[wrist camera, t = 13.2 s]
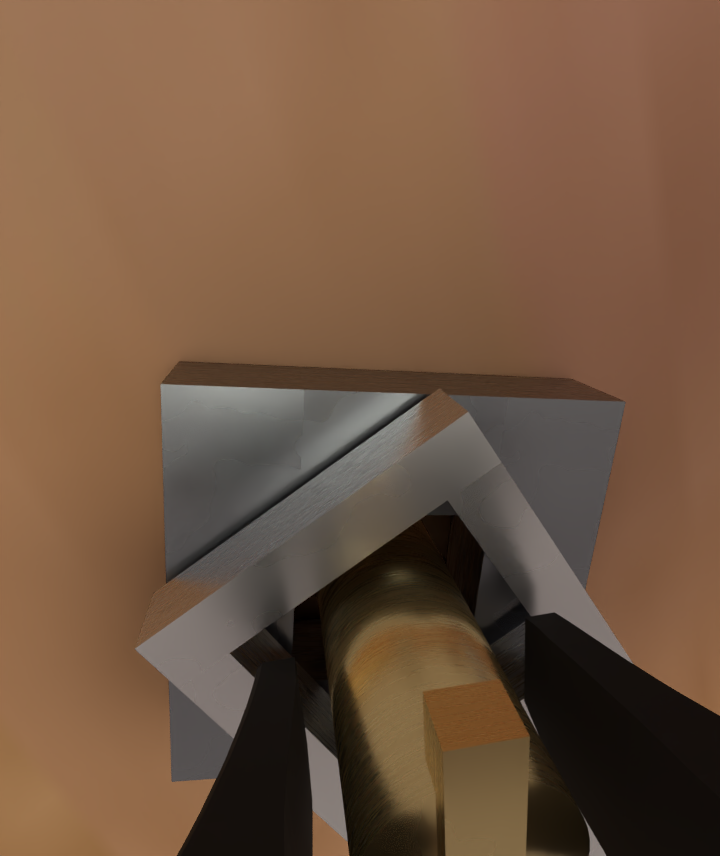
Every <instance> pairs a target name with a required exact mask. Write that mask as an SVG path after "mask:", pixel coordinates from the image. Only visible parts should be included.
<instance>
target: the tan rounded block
mask: <svg viewBox="0 0 720 856" xmlns="http://www.w3.org/2000/svg"><path fill="white" fill-rule="evenodd" d="M317 597H318V605H319V613H320V621H321V629H322V638H323V646H324V654H325V662H326V670H327V678H328V686H329V694H330V702H331V710H332V718H333V726H334V734H335V742H336V750H337V759H338V767H339V775H340V783H341V791H342V799H343V807H344V815H345V823H346V831H347V839H348V847H349V855H350V856H589V852H590V837H589V831H588V827H587V825H586V822H585V819H584V817H583V815H582V813H581V812H580V810H579V808H578V806H577V804H576V802H575V801H574V799H573V797H572V795H571V793H570V791H569V790H568V788H567V786H566V784H565V782H564V781H563V779H562V777H561V775H560V773H559V771H558V770H557V768H556V766H555V764H554V762H553V760H552V759H551V757H550V755H549V753H548V751H547V749H546V748H545V746H544V744H543V742H542V740H541V738H540V737H539V735H538V733H537V731H536V729H535V727H534V726H533V724H532V722H531V720H530V718H529V716H528V715H527V713H526V711H525V709H524V707H523V706H522V704H521V702H520V700H519V698H518V696H517V695H516V693H515V691H514V689H513V687H512V685H511V684H510V682H509V680H508V678H507V676H506V674H505V673H504V671H503V669H502V667H501V665H500V663H499V662H498V660H497V658H496V656H495V654H494V652H493V651H492V649H491V647H490V645H489V643H488V641H487V640H486V638H485V636H484V634H483V632H482V631H481V629H480V627H479V625H478V623H477V621H476V620H475V618H474V616H473V614H472V612H471V610H470V609H469V607H468V605H467V603H466V601H465V599H464V598H463V596H462V594H461V592H460V590H459V588H458V587H457V585H456V583H455V581H454V579H453V577H452V576H451V574H450V572H449V570H448V568H447V566H446V565H445V563H444V561H443V559H442V557H441V555H440V554H439V552H438V550H437V548H436V546H435V545H434V543H433V541H432V539H431V537H430V535H429V534H428V532H427V530H426V528H425V526H424V524H423V523H422V521H421V519H420V520H418V521H417V522H416V523H414V524H413V525H411V526H410V527H408V528H407V529H406V530H404V531H403V532H401V533H400V534H399V535H397V536H396V537H394V538H393V539H391V540H390V541H389V542H387V543H386V544H384V545H383V546H381V547H380V548H379V549H377V550H376V551H374V552H373V553H371V554H370V555H369V556H367V557H366V558H364V559H363V560H362V561H360V562H359V563H357V564H356V565H354V566H353V567H352V568H350V569H349V570H347V571H346V572H344V573H343V574H342V575H340V576H339V577H337V578H336V579H334V580H333V581H332V582H330V583H329V584H327V585H326V586H325V587H323V588H322V589H320V590H319V591H317Z"/></svg>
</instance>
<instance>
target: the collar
mask: <svg viewBox="0 0 720 856" xmlns="http://www.w3.org/2000/svg"><path fill="white" fill-rule="evenodd" d="M447 500H448V502H449V503H450V504H451V506H452V507H453V509H454V510H455V511H456V513H457V514H458V515H459V517H460V518H461V520H462V521H463V522H464V524H465V525H466V527H467V528H468V529H469V531H470V532H471V534H472V535H473V536H474V538H475V539H476V541H477V542H478V543H479V545H480V546H481V548H482V549H483V550H484V552H485V553H486V555H487V556H488V557H489V559H490V560H491V561H492V563H493V564H494V566H495V567H496V568H497V570H498V571H499V573H500V574H501V575H502V577H503V578H504V580H505V581H506V582H507V584H508V585H509V587H510V588H511V589H512V591H513V592H514V594H515V595H516V596H517V598H518V599H519V600H520V602H521V603H522V605H523V606H524V607H525V609H526V610H527V612H528V613H529V614H530V616H536V615H542V614H548V613H553V612H555V613H557V614H558V615H560V616H561V617H563V618H564V619H566V620H568V621H569V622H571V623H572V624H574V625H575V626H577V627H578V628H580V629H581V630H583V631H584V632H586V633H587V634H589V635H590V636H592V637H593V638H595V639H596V640H598V641H599V642H601V643H602V644H604V645H605V646H607V647H608V648H610V649H611V650H613V651H614V652H616V653H617V654H619V655H620V656H622V657H623V658H625V659H626V660H628V661H629V662H631V663H632V661H631V660H630V658H629V657H628V655H627V653H626V652H625V650H624V649H623V647H622V646H621V644H620V643H619V641H618V640H617V638H616V637H615V635H614V634H613V632H612V631H611V629H610V628H609V626H608V624H607V623H606V621H605V620H604V618H603V617H602V615H601V614H600V612H599V611H598V609H597V608H596V606H595V605H594V603H593V602H592V600H591V598H590V597H589V595H588V594H587V592H586V591H585V589H584V588H583V586H582V585H581V583H580V582H579V580H578V579H577V577H576V576H575V574H574V572H573V571H572V569H571V568H570V566H569V565H568V563H567V562H566V560H565V559H564V557H563V556H562V554H561V553H560V551H559V550H558V548H557V546H556V545H555V543H554V542H553V540H552V539H551V537H550V536H549V534H548V533H547V531H546V530H545V528H544V527H543V525H542V524H541V522H540V520H539V519H538V517H537V516H536V514H535V513H534V511H533V510H532V508H531V507H530V505H529V504H528V502H527V501H526V499H525V498H524V496H523V494H522V493H521V491H520V490H519V488H518V487H517V485H516V484H515V482H514V481H513V479H512V478H511V476H510V475H509V473H508V472H507V470H506V468H505V467H504V465H503V464H502V462H501V461H500V459H499V458H498V456H497V455H496V453H495V452H494V450H493V449H492V447H491V446H490V444H489V442H488V441H487V439H486V438H485V436H484V435H483V433H482V432H481V430H480V429H479V427H478V426H477V424H476V423H475V421H474V420H473V418H472V416H471V415H470V413H469V412H468V411H467V410H466V409H464V408H463V407H462V406H461V405H459V404H458V403H457V402H456V401H454V400H453V399H452V398H451V397H449V396H448V395H447V394H446V393H444V392H443V391H442V390H441V389H440V388H439V389H438V390H436V391H435V392H433V393H432V394H431V395H429V396H428V397H426V398H425V399H424V400H422V401H421V402H419V403H418V404H417V405H415V406H414V407H412V408H411V409H410V410H408V411H407V412H405V413H404V414H403V415H401V416H400V417H398V418H397V419H396V420H394V421H393V422H391V423H390V424H389V425H387V426H386V427H384V428H383V429H382V430H380V431H379V432H377V433H376V434H375V435H373V436H372V437H370V438H369V439H368V440H366V441H365V442H363V443H362V444H361V445H359V446H358V447H356V448H355V449H354V450H352V451H351V452H349V453H348V454H347V455H345V456H344V457H342V458H341V459H340V460H338V461H337V462H336V463H334V464H333V465H331V466H330V467H329V468H327V469H326V470H324V471H323V472H322V473H320V474H319V475H317V476H316V477H315V478H313V479H312V480H310V481H309V482H308V483H306V484H305V485H303V486H302V487H301V488H299V489H298V490H296V491H295V492H294V493H292V494H291V495H289V496H288V497H287V498H285V499H284V500H282V501H281V502H280V503H278V504H277V505H275V506H274V507H273V508H271V509H270V510H268V511H267V512H266V513H264V514H263V515H261V516H260V517H259V518H257V519H256V520H254V521H253V522H252V523H250V524H249V525H247V526H246V527H245V528H243V529H242V530H241V531H239V532H238V533H236V534H235V535H234V536H232V537H231V538H229V539H228V540H227V541H225V542H224V543H222V544H221V545H220V546H218V547H217V548H215V549H214V550H213V551H211V552H210V553H208V554H207V555H206V556H204V557H203V558H201V559H200V560H199V561H197V562H196V563H194V564H193V565H192V566H190V567H189V568H187V569H186V570H185V571H183V572H182V573H180V574H179V575H178V576H176V577H175V578H173V579H172V580H171V581H169V582H168V583H166V584H165V585H164V586H162V587H161V588H159V589H158V590H157V591H155V592H154V593H153V596H152V599H151V602H150V605H149V608H148V611H147V614H146V617H145V620H144V623H143V626H142V629H141V632H140V635H139V637H138V640H137V643H136V646H135V650H136V651H137V652H139V653H140V654H141V655H142V656H143V657H144V658H145V659H146V660H147V661H148V662H150V663H151V664H152V665H153V666H154V667H155V668H156V669H157V670H158V671H160V672H161V673H162V674H163V675H164V676H165V677H166V678H167V679H168V680H169V681H171V682H172V683H173V684H174V685H175V686H176V687H177V688H178V689H179V690H180V691H182V692H183V693H184V694H185V695H186V696H187V697H188V698H189V699H190V700H192V701H193V702H194V703H195V704H196V705H197V706H198V707H199V708H200V709H201V710H203V711H204V712H205V713H206V714H207V715H208V716H209V717H210V718H211V719H213V720H214V721H215V722H216V723H217V724H218V725H219V726H220V727H221V728H222V729H224V730H225V731H226V732H227V733H228V734H229V735H230V736H231V737H232V738H234V737H235V734H236V732H237V729H238V727H239V724H240V722H241V719H242V716H243V714H244V711H245V708H246V705H247V702H248V699H249V696H250V693H251V690H252V686H253V683H254V679H255V675H256V671H257V668H258V667H259V666H260V665H261V664H262V663H263V662H268V661H274V660H280V659H286V658H292V656H291V655H290V654H289V653H288V652H287V651H286V650H285V649H284V648H283V647H282V646H281V645H280V644H279V643H278V642H277V641H276V640H275V639H274V638H273V637H272V636H271V635H270V634H269V633H268V631H267V630H266V629H265V628H266V627H268V626H269V625H270V624H272V623H273V622H275V621H276V620H278V619H279V618H280V617H282V616H283V615H285V614H286V613H288V612H289V611H290V610H292V609H293V608H295V607H296V606H297V605H299V604H300V603H302V602H303V601H305V600H306V599H307V598H309V597H310V596H312V595H313V594H315V593H316V592H317V591H319V590H320V589H322V588H323V587H325V586H326V585H327V584H329V583H330V582H332V581H333V580H334V579H336V578H337V577H339V576H340V575H342V574H343V573H344V572H346V571H347V570H349V569H350V568H352V567H353V566H354V565H356V564H357V563H359V562H360V561H362V560H363V559H364V558H366V557H367V556H369V555H370V554H371V553H373V552H374V551H376V550H377V549H379V548H380V547H381V546H383V545H384V544H386V543H387V542H389V541H390V540H391V539H393V538H394V537H396V536H397V535H399V534H400V533H401V532H403V531H404V530H406V529H407V528H408V527H410V526H411V525H413V524H414V523H416V522H417V521H418V520H420V519H421V518H423V517H424V516H426V515H427V514H428V513H430V512H431V511H433V510H434V509H436V508H437V507H438V506H440V505H441V504H443V503H444V502H445V501H447ZM490 647H491V649H492V651H493V652H494V654H495V656H496V658H497V660H498V662H499V663H500V665H501V667H502V669H503V671H504V673H505V674H506V676H507V678H508V680H509V682H510V684H511V685H512V687H513V689H514V691H515V693H516V695H517V696H518V698H519V700H520V702H521V704H522V706H523V707H524V709H525V711H526V713H527V715H528V716H529V718H530V720H531V722H532V724H533V726H534V727H535V725H534V723H533V721H532V718H531V716H530V714H529V711H528V709H527V707H526V704H525V702H524V676H525V622H523V623H522V624H520V625H519V626H517V627H516V628H514V629H513V630H511V631H510V632H508V633H507V634H506V635H504V636H503V637H501V638H500V639H498V640H497V641H495V642H494V643H492V644H491V645H490ZM632 664H633V663H632ZM296 667H297V674H298V682H299V689H300V696H301V703H302V710H303V717H304V724H305V731H306V738H307V746H308V757H309V768H310V779H311V791H312V810H313V811H314V812H315V813H316V814H317V815H319V816H320V817H321V818H322V819H323V820H324V821H325V822H326V823H327V824H328V825H330V826H331V827H332V828H333V829H334V830H335V831H336V832H337V833H338V834H340V835H341V836H342V837H343V838H344V839H345V840H346V841H347V842H348V839H347V831H346V823H345V815H344V807H343V799H342V791H341V783H340V775H339V767H338V759H337V750H336V742H335V734H334V726H333V718H332V710H331V702H330V696H329V695H328V694H327V693H326V692H325V690H324V689H323V688H322V687H321V686H320V685H319V684H318V683H317V682H316V681H315V680H314V679H313V678H312V677H311V676H310V675H309V674H308V673H307V672H306V671H305V670H304V669H303V668H302V667H301V666H300V665H299V664H298V663H297V661H296ZM535 729H536V728H535ZM536 731H537V730H536ZM537 733H538V732H537ZM538 735H539V734H538ZM580 812H581V811H580ZM584 819H585V818H584ZM585 822H586V820H585ZM586 825H587V827H588V831H589V837H590V852H589V856H606V854H605V852H604V851H603V849H602V847H601V846H600V844H599V842H598V840H597V839H596V837H595V835H594V834H593V832H592V830H591V828H590V827H589V825H588V823H587V822H586Z"/></svg>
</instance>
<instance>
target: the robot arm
mask: <svg viewBox="0 0 720 856" xmlns="http://www.w3.org/2000/svg"><path fill="white" fill-rule="evenodd" d="M524 702H525V704H526V707H527V709H528V711H529V714H530V716H531V718H532V721H533V723H534V725H535V728H536V730H537V732H538V734H539V737H540V738H541V740H542V742H543V744H544V746H545V748H546V749H547V751H548V753H549V755H550V757H551V759H552V760H553V762H554V764H555V766H556V768H557V770H558V771H559V773H560V775H561V777H562V779H563V781H564V782H565V784H566V786H567V788H568V790H569V791H570V793H571V795H572V797H573V799H574V801H575V802H576V804H577V806H578V808H579V810H580V811H581V813H582V815H583V817H584V818H585V820H586V822H587V823H588V825H589V827H590V828H591V830H592V832H593V834H594V835H595V837H596V839H597V840H598V842H599V844H600V846H601V847H602V849H603V851H604V852H605V854H606V856H720V716H719V715H717V714H715V713H714V712H712V711H710V710H708V709H707V708H705V707H703V706H701V705H700V704H698V703H696V702H694V701H693V700H691V699H689V698H688V697H686V696H684V695H682V694H681V693H679V692H677V691H676V690H674V689H672V688H671V687H669V686H667V685H666V684H664V683H662V682H661V681H659V680H658V679H656V678H654V677H653V676H651V675H650V674H648V673H646V672H645V671H643V670H642V669H640V668H639V667H637V666H635V665H634V664H632V663H631V662H629V661H628V660H626V659H625V658H623V657H622V656H620V655H619V654H617V653H616V652H614V651H613V650H611V649H610V648H608V647H607V646H605V645H604V644H602V643H601V642H599V641H598V640H596V639H595V638H593V637H592V636H590V635H589V634H587V633H586V632H584V631H583V630H581V629H580V628H578V627H577V626H575V625H574V624H572V623H571V622H569V621H568V620H566V619H564V618H563V617H561V616H560V615H558V614H557V613H555V612H553V613H548V614H542V615H536V616H530V617H525V676H524ZM177 856H312V791H311V779H310V768H309V757H308V746H307V738H306V731H305V724H304V717H303V710H302V703H301V696H300V689H299V682H298V674H297V667H296V660H295V657H292V658H286V659H280V660H274V661H268V662H263V663H262V664H261V665H260V666H259V667H258V668H257V671H256V675H255V679H254V683H253V686H252V690H251V693H250V696H249V699H248V702H247V705H246V708H245V711H244V714H243V716H242V719H241V722H240V724H239V727H238V729H237V732H236V734H235V737H234V739H233V742H232V744H231V746H230V749H229V751H228V754H227V756H226V759H225V761H224V763H223V765H222V768H221V770H220V772H219V774H218V776H217V778H216V780H215V783H214V785H213V787H212V789H211V791H210V793H209V795H208V797H207V799H206V801H205V803H204V805H203V808H202V810H201V812H200V814H199V816H198V818H197V820H196V821H195V823H194V825H193V827H192V829H191V831H190V833H189V835H188V837H187V838H186V840H185V842H184V844H183V846H182V848H181V849H180V851H179V853H178V855H177Z"/></svg>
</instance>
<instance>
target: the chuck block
mask: <svg viewBox="0 0 720 856" xmlns="http://www.w3.org/2000/svg"><path fill="white" fill-rule="evenodd" d="M439 388H440V389H441V390H442V391H443V392H444V393H446V394H447V395H448V396H449V397H451V398H452V399H453V400H454V401H456V402H457V403H458V404H459V405H461V406H462V407H463V408H464V409H466V410H467V411H468V412H469V413H470V415H471V416H472V418H473V420H474V421H475V423H476V424H477V426H478V427H479V429H480V430H481V432H482V433H483V435H484V436H485V438H486V439H487V441H488V442H489V444H490V446H491V447H492V449H493V450H494V452H495V453H496V455H497V456H498V458H499V459H500V461H501V462H502V464H503V465H504V467H505V468H506V470H507V472H508V473H509V475H510V476H511V478H512V479H513V481H514V482H515V484H516V485H517V487H518V488H519V490H520V491H521V493H522V494H523V496H524V498H525V499H526V501H527V502H528V504H529V505H530V507H531V508H532V510H533V511H534V513H535V514H536V516H537V517H538V519H539V520H540V522H541V524H542V525H543V527H544V528H545V530H546V531H547V533H548V534H549V536H550V537H551V539H552V540H553V542H554V543H555V545H556V546H557V548H558V550H559V551H560V553H561V554H562V556H563V557H564V559H565V560H566V562H567V563H568V565H569V566H570V568H571V569H572V571H573V572H574V574H575V576H576V577H577V579H578V580H579V582H580V583H581V585H582V586H583V588H584V589H585V588H586V583H587V579H588V574H589V569H590V565H591V560H592V555H593V551H594V546H595V541H596V537H597V532H598V528H599V523H600V518H601V514H602V509H603V504H604V500H605V495H606V490H607V486H608V481H609V477H610V472H611V467H612V463H613V458H614V453H615V449H616V444H617V439H618V435H619V430H620V426H621V421H622V416H623V412H624V407H625V401H623V400H620V399H618V398H616V397H613V396H611V395H609V394H606V393H604V392H601V391H599V390H597V389H594V388H592V387H590V386H587V385H585V384H582V383H580V382H578V381H575V380H573V379H561V378H539V377H516V376H493V375H471V374H448V373H426V372H403V371H380V370H358V369H335V368H313V367H290V366H268V365H245V364H222V363H200V362H178V364H177V365H176V366H175V367H174V369H173V370H172V371H171V372H170V373H169V375H168V376H167V377H166V378H165V380H164V381H163V382H162V383H161V414H162V450H163V486H164V522H165V558H166V583H168V582H169V581H171V580H172V579H173V578H175V577H176V576H178V575H179V574H180V573H182V572H183V571H185V570H186V569H187V568H189V567H190V566H192V565H193V564H194V563H196V562H197V561H199V560H200V559H201V558H203V557H204V556H206V555H207V554H208V553H210V552H211V551H213V550H214V549H215V548H217V547H218V546H220V545H221V544H222V543H224V542H225V541H227V540H228V539H229V538H231V537H232V536H234V535H235V534H236V533H238V532H239V531H241V530H242V529H243V528H245V527H246V526H247V525H249V524H250V523H252V522H253V521H254V520H256V519H257V518H259V517H260V516H261V515H263V514H264V513H266V512H267V511H268V510H270V509H271V508H273V507H274V506H275V505H277V504H278V503H280V502H281V501H282V500H284V499H285V498H287V497H288V496H289V495H291V494H292V493H294V492H295V491H296V490H298V489H299V488H301V487H302V486H303V485H305V484H306V483H308V482H309V481H310V480H312V479H313V478H315V477H316V476H317V475H319V474H320V473H322V472H323V471H324V470H326V469H327V468H329V467H330V466H331V465H333V464H334V463H336V462H337V461H338V460H340V459H341V458H342V457H344V456H345V455H347V454H348V453H349V452H351V451H352V450H354V449H355V448H356V447H358V446H359V445H361V444H362V443H363V442H365V441H366V440H368V439H369V438H370V437H372V436H373V435H375V434H376V433H377V432H379V431H380V430H382V429H383V428H384V427H386V426H387V425H389V424H390V423H391V422H393V421H394V420H396V419H397V418H398V417H400V416H401V415H403V414H404V413H405V412H407V411H408V410H410V409H411V408H412V407H414V406H415V405H417V404H418V403H419V402H421V401H422V400H424V399H425V398H426V397H428V396H429V395H431V394H432V393H433V392H435V391H436V390H438V389H439ZM427 515H452V520H451V528H450V536H449V543H448V551H447V558H446V566H447V568H448V570H449V572H450V574H451V576H452V577H453V579H454V581H455V583H456V585H457V587H458V588H459V590H460V592H461V594H462V596H463V598H464V599H465V601H466V603H467V605H468V607H469V609H470V610H471V612H472V614H473V616H474V618H475V620H476V621H477V623H478V625H479V627H480V629H481V631H482V632H483V634H484V636H485V638H486V640H487V641H488V643H489V645H491V644H492V643H494V642H495V641H497V640H498V639H500V638H501V637H503V636H504V635H506V634H507V633H508V632H510V631H511V630H513V629H514V628H516V627H517V626H519V625H520V624H522V623H523V622H525V617H530V614H529V613H528V612H527V610H526V609H525V607H524V606H523V605H522V603H521V602H520V600H519V599H518V598H517V596H516V595H515V594H514V592H513V591H512V589H511V588H510V587H509V585H508V584H507V582H506V581H505V580H504V578H503V577H502V575H501V574H500V573H499V571H498V570H497V568H496V567H495V566H494V564H493V563H492V561H491V560H490V559H489V557H488V556H487V555H486V553H485V552H484V550H483V549H482V548H481V546H480V545H479V543H478V542H477V541H476V539H475V538H474V536H473V535H472V534H471V532H470V531H469V529H468V528H467V527H466V525H465V524H464V522H463V521H462V520H461V518H460V517H459V515H458V514H457V513H456V511H455V510H454V509H453V507H452V506H451V504H450V503H449V502H448V500H447V501H445V502H444V503H443V504H441V505H440V506H438V507H437V508H436V509H434V510H433V511H431V512H430V513H428V514H427ZM265 629H266V630H267V631H268V633H269V634H270V635H271V636H272V637H273V638H274V639H275V640H276V641H277V642H278V643H279V644H280V645H281V646H282V647H283V648H284V649H285V650H286V651H287V652H288V653H289V654H290V655H291V656H292V657H295V660H296V661H297V663H298V664H299V665H300V666H301V667H302V668H303V669H304V670H305V671H306V672H307V673H308V674H309V675H310V676H311V677H312V678H313V679H314V680H315V681H316V682H317V683H318V684H319V685H320V686H321V687H322V688H323V689H324V690H325V692H326V693H327V694H328V695H329V696H330V694H329V686H328V678H327V670H326V662H325V654H324V646H323V638H322V629H321V621H320V619H319V620H294V608H293V609H292V610H290V611H289V612H288V613H286V614H285V615H283V616H282V617H280V618H279V619H278V620H276V621H275V622H273V623H272V624H270V625H269V626H268V627H266V628H265ZM169 702H170V738H171V774H172V782H175V781H188V780H201V779H215V778H217V776H218V774H219V772H220V770H221V768H222V765H223V763H224V761H225V759H226V756H227V754H228V751H229V749H230V746H231V744H232V742H233V739H234V738H232V737H231V736H230V735H229V734H228V733H227V732H226V731H225V730H224V729H222V728H221V727H220V726H219V725H218V724H217V723H216V722H215V721H214V720H213V719H211V718H210V717H209V716H208V715H207V714H206V713H205V712H204V711H203V710H201V709H200V708H199V707H198V706H197V705H196V704H195V703H194V702H193V701H192V700H190V699H189V698H188V697H187V696H186V695H185V694H184V693H183V692H182V691H180V690H179V689H178V688H177V687H176V686H175V685H174V684H173V683H172V682H171V681H169Z"/></svg>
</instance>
